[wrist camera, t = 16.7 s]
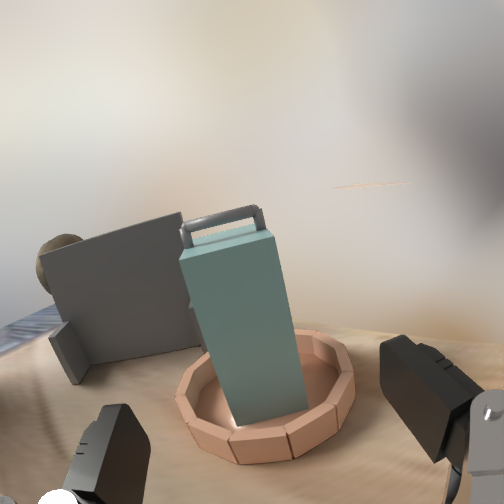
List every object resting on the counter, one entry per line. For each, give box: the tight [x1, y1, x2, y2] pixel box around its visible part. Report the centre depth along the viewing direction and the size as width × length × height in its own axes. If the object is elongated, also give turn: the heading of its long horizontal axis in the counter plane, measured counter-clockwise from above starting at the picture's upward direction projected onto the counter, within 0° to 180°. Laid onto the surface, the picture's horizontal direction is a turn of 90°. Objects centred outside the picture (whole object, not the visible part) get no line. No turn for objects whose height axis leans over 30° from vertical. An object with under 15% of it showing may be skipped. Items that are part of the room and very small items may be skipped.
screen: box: [39, 212, 208, 385], centre depth 28 cm, size 5×17×14 cm, turn 96°
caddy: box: [179, 205, 309, 427], centre depth 19 cm, size 6×5×14 cm
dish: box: [174, 329, 355, 465], centre depth 21 cm, size 13×13×2 cm
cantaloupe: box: [36, 234, 83, 295], centre depth 58 cm, size 14×14×15 cm
